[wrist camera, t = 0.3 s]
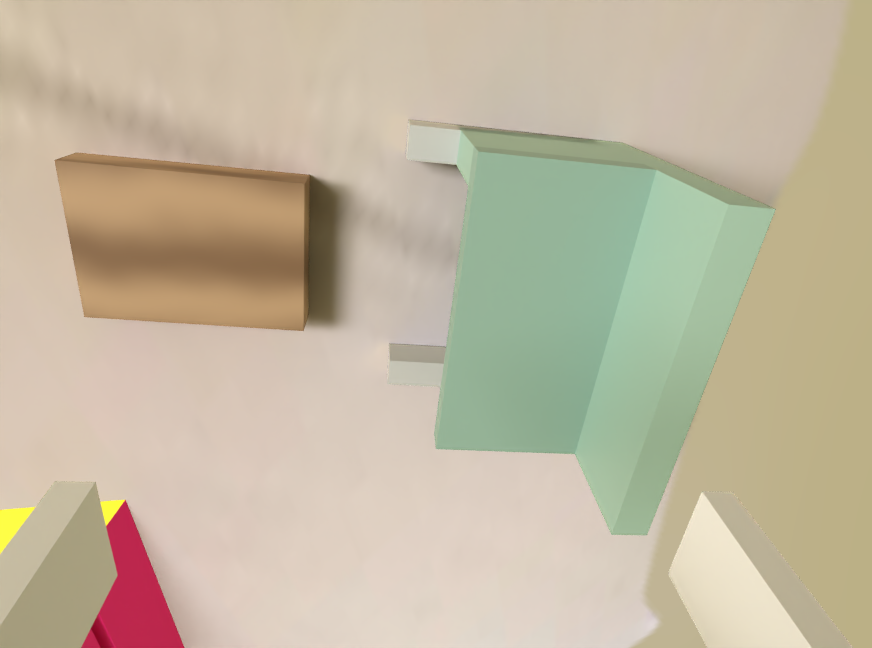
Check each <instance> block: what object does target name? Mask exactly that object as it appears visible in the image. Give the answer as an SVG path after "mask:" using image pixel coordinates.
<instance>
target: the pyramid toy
mask: <svg viewBox="0 0 872 648" xmlns="http://www.w3.org/2000/svg"><path fill="white" fill-rule="evenodd" d="M100 503H101V507H102V512H103V516H104V520H105V524H106V528H107V533H108V537H109V541H110V545H111V549H112V554H113V558H114V562H115V566H116V570H117V577H116V579H115V581H114V583H113V585H112V587H111V589H110V591H109V593H108V595H107V597H106V599H105V601H104V603H103V605H102V607H101V609H100V611H99V613H98V615H97V617H96V619H95V621H94V623H93V625H92V627H91V629H90V631H89V633H88V635H87V637H86V639H85V641H84V643H83V645H82V647H81V648H184V646H183V643H182V641H181V638H180V636H179V633H178V631H177V628H176V626H175V623H174V621H173V618H172V616H171V613H170V611H169V608H168V606H167V603H166V601H165V598H164V596H163V593H162V591H161V588H160V585H159V583H158V580H157V578H156V575H155V573H154V570H153V568H152V565H151V563H150V560H149V558H148V555H147V553H146V550H145V548H144V545H143V543H142V540H141V538H140V535H139V533H138V530H137V528H136V525H135V523H134V520H133V518H132V515H131V513H130V510H129V508H128V505H127V503H126V500H116V501H104V502H100ZM34 509H35V507H31V508H19V509H7V510H0V554H1V552H2V551H3V550H4V548H5V547H6V546H7V544H8V543H9V542H10V540H11V539H12V538H13V536H14V535H15V534H16V532H17V531H18V530H19V528H20V527H21V526H22V524H23V523H24V522H25V520H26V519H27V518H28V516H29V515H30V514H31V513H32V511H33V510H34Z"/></svg>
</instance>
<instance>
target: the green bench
mask: <svg viewBox="0 0 872 648" xmlns="http://www.w3.org/2000/svg"><path fill="white" fill-rule="evenodd" d="M406 157H407V160H413V161H423V162H433V163H443V164H453V165H457V167H458V169H459V170H460V172H461V174H462V176H463V178H464V179H465V181H466V183H467V185H468V192H467V200H466V207H465V214H464V221H463V229H462V236H461V243H460V250H459V258H458V265H457V272H456V279H455V287H454V294H453V301H452V308H451V316H450V323H449V330H448V337H447V344H446V347H439V346H422V345H405V344H389V355H388V384H392V385H412V386H432V387H441V388H440V395H439V402H438V410H437V417H436V424H435V431H434V436H435V445H436V449H450V450H477V451H505V452H532V453H560V454H575V455H576V457H577V460H578V462H579V464H580V466H581V468H582V471H583V473H584V475H585V477H586V479H587V482H588V484H589V486H590V488H591V490H592V493H593V495H594V497H595V499H596V501H597V504H598V506H599V508H600V510H601V512H602V515H603V517H604V519H605V521H606V523H607V526H608V528H609V530H610V532H611V534H612V535H647V533H648V531H649V528H650V526H651V523H652V521H653V518H654V516H655V513H656V511H657V508H658V506H659V503H660V501H661V498H662V496H663V493H664V491H665V488H666V485H667V483H668V480H669V478H670V475H671V473H672V470H673V468H674V465H675V463H676V460H677V458H678V455H679V453H680V450H681V448H682V445H683V442H684V440H685V437H686V435H687V432H688V430H689V427H690V425H691V422H692V420H693V417H694V415H695V412H696V410H697V407H698V405H699V402H700V399H701V397H702V394H703V392H704V389H705V387H706V384H707V382H708V379H709V377H710V374H711V372H712V369H713V367H714V364H715V362H716V359H717V356H718V354H719V351H720V349H721V346H722V344H723V341H724V339H725V336H726V334H727V331H728V329H729V326H730V324H731V321H732V319H733V316H734V313H735V311H736V308H737V306H738V303H739V301H740V298H741V296H742V293H743V291H744V288H745V286H746V283H747V281H748V278H749V276H750V273H751V270H752V268H753V265H754V263H755V260H756V258H757V255H758V253H759V250H760V248H761V245H762V243H763V240H764V238H765V235H766V233H767V230H768V228H769V225H770V223H771V220H772V217H773V215H774V212H775V210H776V209H774V208H772V207H770V206H767V205H765V204H763V203H760V202H758V201H756V200H753V199H751V198H749V197H746V196H744V195H742V194H740V193H737V192H735V191H733V190H730V189H728V188H726V187H723V186H721V185H719V184H716V183H714V182H712V181H709V180H707V179H705V178H703V177H700V176H698V175H696V174H693V173H691V172H689V171H686V170H684V169H682V168H679V167H677V166H675V165H672V164H670V163H668V162H666V161H663V160H661V159H659V158H656V157H654V156H652V155H649V154H647V153H645V152H642V151H640V150H638V149H636V148H633V147H631V146H629V145H626V144H624V143H620V142H611V141H602V140H593V139H583V138H574V137H565V136H556V135H547V134H538V133H529V132H519V131H510V130H501V129H492V128H483V127H474V126H464V125H455V124H446V123H437V122H428V121H419V120H409V119H408V131H407V143H406Z"/></svg>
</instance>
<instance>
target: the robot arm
mask: <svg viewBox="0 0 872 648" xmlns="http://www.w3.org/2000/svg"><path fill="white" fill-rule="evenodd" d="M668 575H669V576H670V578H671V580H672V582H673V584H674V586H675V588H676V590H677V592H678V593H679V595H680V597H681V599H682V601H683V603H684V605H685V607H686V609H687V610H688V612H689V614H690V616H691V618H692V620H693V622H694V624H695V626H696V627H697V629H698V631H699V633H700V635H701V637H702V639H703V641H704V643H705V645H706V647H707V648H853V647H852V646H851V644H850V643H849V642H848V641H847V639H846V638H845V637H844V635H843V634H842V633H841V631H840V630H839V629H838V628H837V626H836V625H835V624H834V622H833V621H832V620H831V619H830V617H829V616H828V615H827V613H826V612H825V611H824V609H823V608H822V607H821V606H820V604H819V603H818V602H817V601H816V600H815V598H814V596H813V595H812V594H811V593H810V591H809V590H808V589H807V587H806V586H805V585H804V584H803V582H802V581H801V580H800V578H799V577H798V576H797V575H796V573H795V572H794V571H793V569H792V568H791V567H790V565H789V564H788V563H787V561H786V560H785V559H784V558H783V556H782V555H781V554H780V552H779V551H778V550H777V548H776V547H775V546H774V545H773V543H772V542H771V541H770V539H769V538H768V537H767V535H766V534H765V533H764V531H763V530H762V529H761V528H760V526H759V525H758V524H757V522H756V521H755V520H754V519H753V517H752V516H751V515H750V513H749V512H748V511H747V509H746V508H745V507H744V506H743V504H742V503H741V502H740V500H739V499H738V498H737V496H736V495H735V494H734V493H733V492H706V491H705V492H704V491H702V493H701V495H700V498H699V500H698V502H697V505H696V507H695V510H694V512H693V514H692V517H691V519H690V522H689V524H688V527H687V529H686V532H685V534H684V537H683V539H682V541H681V543H680V546H679V548H678V551H677V553H676V556H675V558H674V560H673V563H672V565H671V568H670V570H669V573H668ZM116 577H117V570H116V566H115V562H114V558H113V554H112V549H111V545H110V541H109V537H108V533H107V528H106V524H105V520H104V516H103V512H102V507H101V503H100V499H99V495H98V491H97V486H96V482H61V481H55V482H54V483H53V485H52V486H51V487H50V489H49V490H48V491H47V493H46V494H45V495H44V497H43V498H42V499H41V501H40V502H39V503H38V505H37V506H36V507H35V509H34V510H33V511H32V513H31V514H30V515H29V516H28V518H27V519H26V520H25V522H24V523H23V524H22V526H21V527H20V528H19V530H18V531H17V532H16V534H15V535H14V536H13V538H12V539H11V540H10V542H9V543H8V544H7V546H6V547H5V548H4V550H3V551H2V552H1V554H0V648H81V647H82V645H83V643H84V641H85V639H86V637H87V635H88V633H89V631H90V629H91V627H92V625H93V623H94V621H95V619H96V617H97V615H98V613H99V611H100V609H101V607H102V605H103V603H104V601H105V599H106V597H107V595H108V593H109V591H110V589H111V587H112V585H113V583H114V581H115V579H116Z"/></svg>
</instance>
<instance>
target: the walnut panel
mask: <svg viewBox="0 0 872 648" xmlns="http://www.w3.org/2000/svg"><path fill="white" fill-rule="evenodd" d="M55 165H56V170H57V176H58V181H59V186H60V191H61V197H62V202H63V207H64V212H65V218H66V223H67V228H68V233H69V239H70V244H71V249H72V254H73V260H74V265H75V270H76V275H77V281H78V286H79V291H80V296H81V302H82V307H83V312H84V317H92V318H108V319H124V320H140V321H155V322H171V323H187V324H203V325H219V326H234V327H250V328H266V329H282V330H297V331H304V327H305V324H306V321H307V317H308V306H309V206H310V175H305V174H295V173H285V172H274V171H264V170H253V169H243V168H232V167H222V166H211V165H201V164H190V163H180V162H170V161H159V160H149V159H138V158H128V157H117V156H107V155H96V154H86V153H74V154H71V155H68V156H65V157H62V158H59V159H57V160H55Z"/></svg>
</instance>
